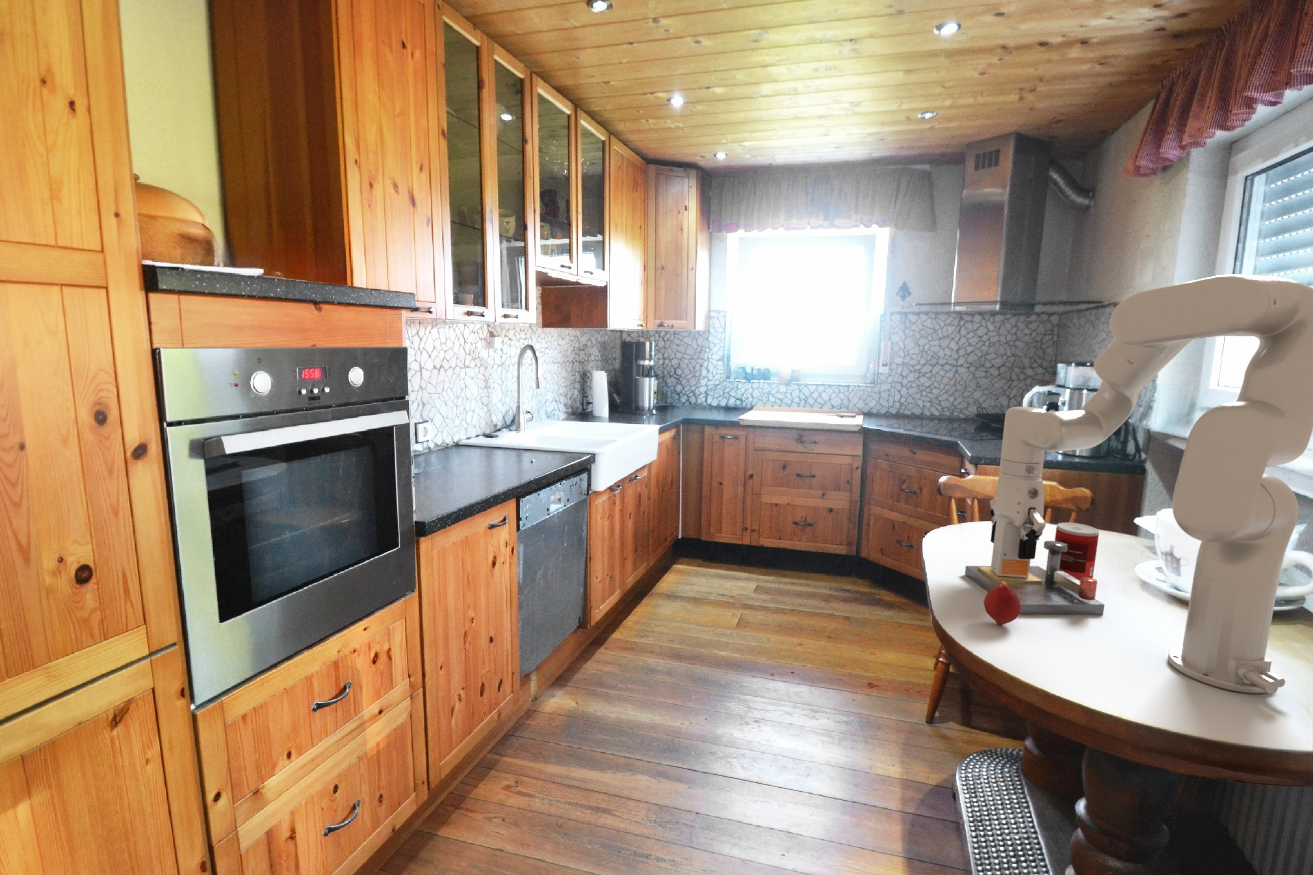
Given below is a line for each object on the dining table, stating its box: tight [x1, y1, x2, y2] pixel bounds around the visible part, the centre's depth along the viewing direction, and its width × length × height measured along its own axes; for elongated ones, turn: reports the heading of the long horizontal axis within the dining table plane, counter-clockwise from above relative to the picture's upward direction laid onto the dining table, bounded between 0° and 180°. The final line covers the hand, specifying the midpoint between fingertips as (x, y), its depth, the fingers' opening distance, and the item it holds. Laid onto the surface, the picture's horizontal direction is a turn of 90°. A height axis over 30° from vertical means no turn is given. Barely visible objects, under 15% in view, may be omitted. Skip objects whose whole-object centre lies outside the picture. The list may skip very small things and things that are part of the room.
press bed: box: [964, 540, 1105, 616], centre depth 131 cm, size 20×16×10 cm
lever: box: [1054, 571, 1098, 600], centre depth 126 cm, size 10×3×4 cm, turn 2°
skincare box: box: [990, 515, 1032, 578], centre depth 134 cm, size 6×4×12 cm
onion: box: [983, 581, 1021, 626], centre depth 117 cm, size 6×6×8 cm
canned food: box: [1054, 522, 1100, 580], centre depth 140 cm, size 8×8×11 cm
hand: (1011, 550), depth 134 cm, fingers open, 9 cm apart
